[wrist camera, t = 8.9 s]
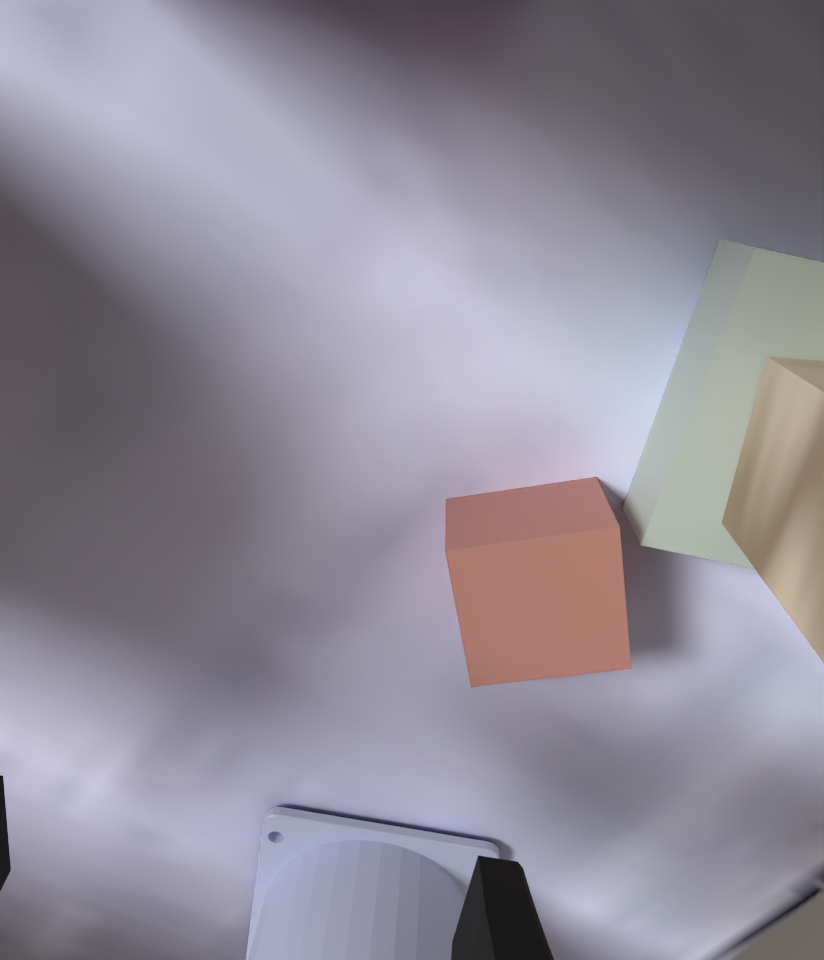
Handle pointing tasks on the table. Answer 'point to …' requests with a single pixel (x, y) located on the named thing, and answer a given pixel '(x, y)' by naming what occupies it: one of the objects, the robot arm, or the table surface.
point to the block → (538, 582)
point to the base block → (721, 395)
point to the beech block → (785, 491)
